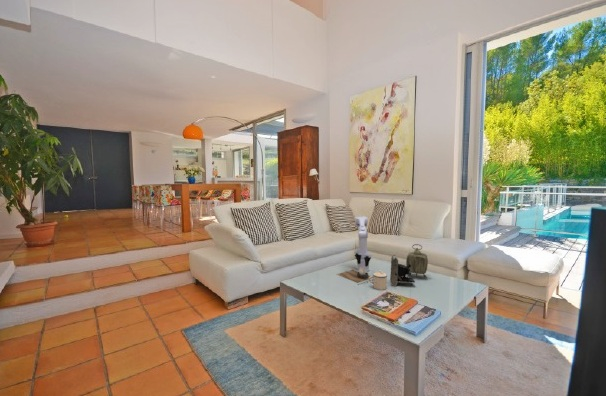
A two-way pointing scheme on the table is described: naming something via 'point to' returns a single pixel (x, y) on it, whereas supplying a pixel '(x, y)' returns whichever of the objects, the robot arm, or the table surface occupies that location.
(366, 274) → the faceted grey ring
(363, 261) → the robot arm
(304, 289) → the table surface
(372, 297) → the table surface
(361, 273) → the cap plug
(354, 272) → the board
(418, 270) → the tabletop clock
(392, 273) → the vintage camera
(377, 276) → the teacup with lid
